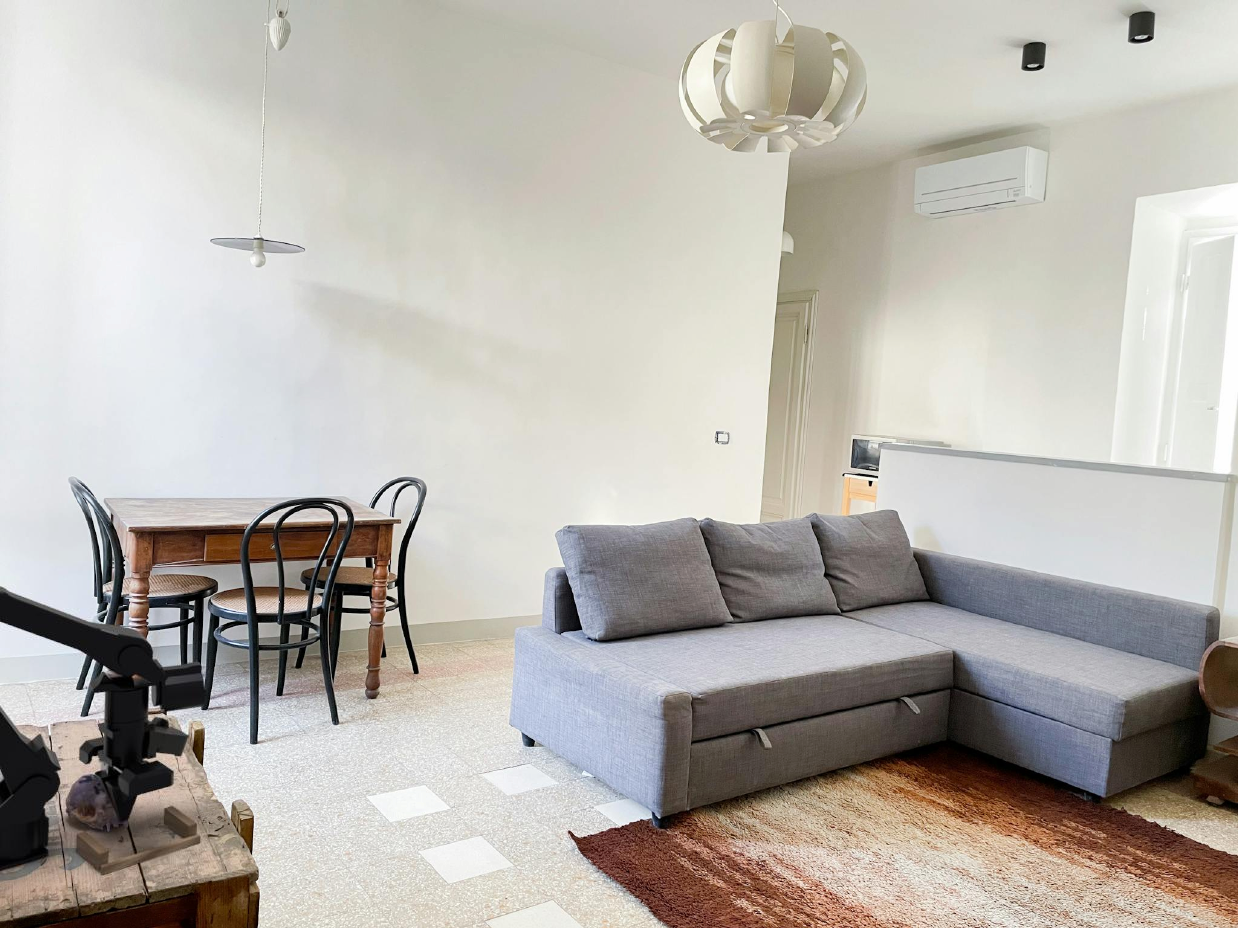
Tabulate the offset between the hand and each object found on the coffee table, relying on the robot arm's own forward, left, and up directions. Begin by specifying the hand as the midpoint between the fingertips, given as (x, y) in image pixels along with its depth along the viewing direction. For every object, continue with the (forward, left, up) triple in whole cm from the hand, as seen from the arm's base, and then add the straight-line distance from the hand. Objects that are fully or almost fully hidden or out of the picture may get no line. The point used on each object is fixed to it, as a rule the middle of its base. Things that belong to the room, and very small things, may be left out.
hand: (123, 819), depth 136 cm
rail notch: (0, -5, -2) cm, 6 cm away
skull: (-1, +6, -2) cm, 7 cm away
